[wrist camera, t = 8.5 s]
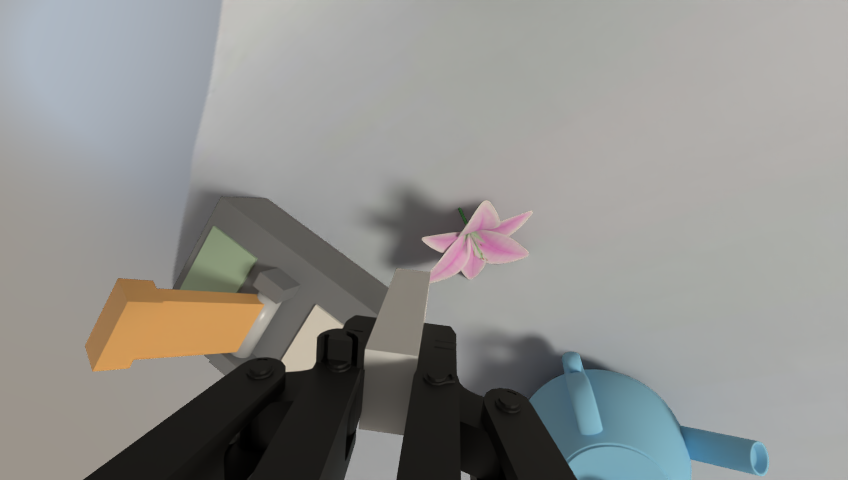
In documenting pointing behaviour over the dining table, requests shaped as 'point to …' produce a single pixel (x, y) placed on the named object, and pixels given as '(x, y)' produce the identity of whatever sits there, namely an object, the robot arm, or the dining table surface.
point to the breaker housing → (279, 278)
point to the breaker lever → (175, 324)
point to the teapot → (630, 430)
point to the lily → (477, 244)
